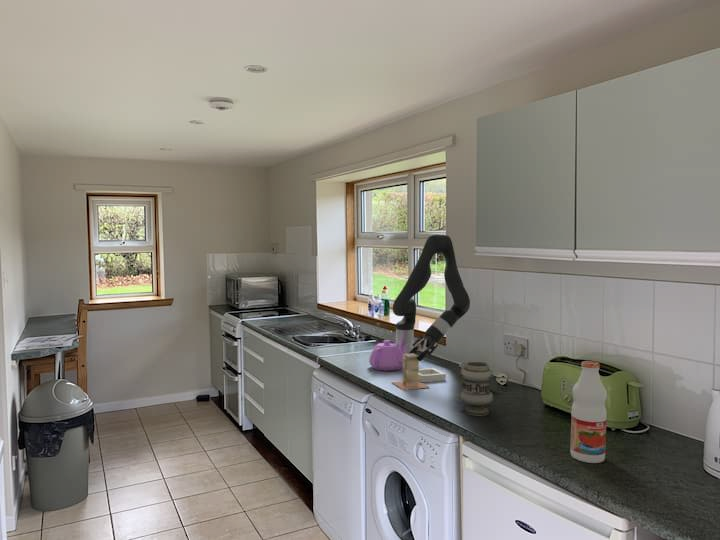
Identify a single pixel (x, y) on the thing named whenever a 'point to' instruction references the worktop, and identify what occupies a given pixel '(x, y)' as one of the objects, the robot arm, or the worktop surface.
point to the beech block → (410, 369)
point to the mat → (404, 387)
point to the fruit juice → (589, 416)
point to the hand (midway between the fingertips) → (413, 357)
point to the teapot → (387, 356)
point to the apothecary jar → (476, 388)
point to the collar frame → (430, 375)
